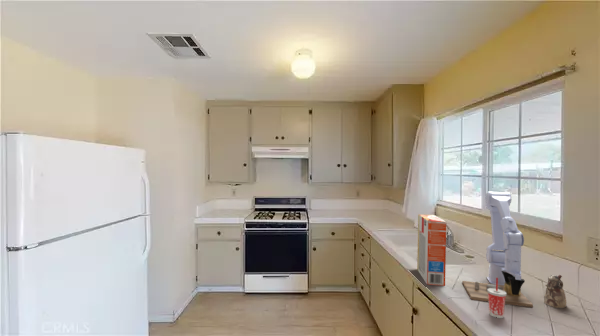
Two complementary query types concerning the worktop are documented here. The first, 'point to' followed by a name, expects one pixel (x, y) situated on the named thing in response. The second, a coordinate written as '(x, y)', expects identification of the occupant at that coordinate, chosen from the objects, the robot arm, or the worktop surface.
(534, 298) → the worktop surface
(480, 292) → the carrier plate
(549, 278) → the figurine
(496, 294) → the beverage cup
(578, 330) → the worktop surface
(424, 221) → the orange cereal box
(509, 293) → the brass gear
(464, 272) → the worktop surface
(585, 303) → the worktop surface
